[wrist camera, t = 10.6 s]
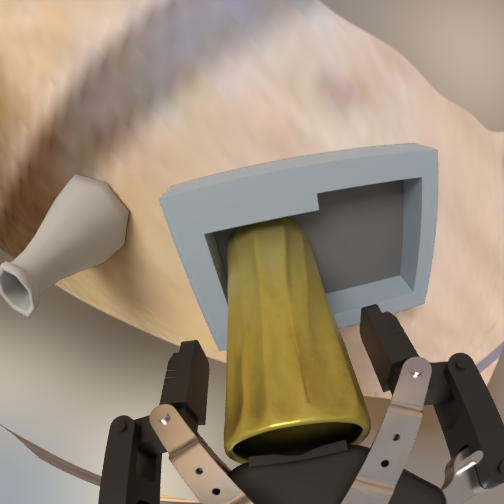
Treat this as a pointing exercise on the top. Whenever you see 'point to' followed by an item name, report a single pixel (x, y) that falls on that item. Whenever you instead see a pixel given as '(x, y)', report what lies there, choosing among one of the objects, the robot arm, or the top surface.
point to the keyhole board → (318, 225)
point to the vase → (284, 350)
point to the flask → (66, 242)
